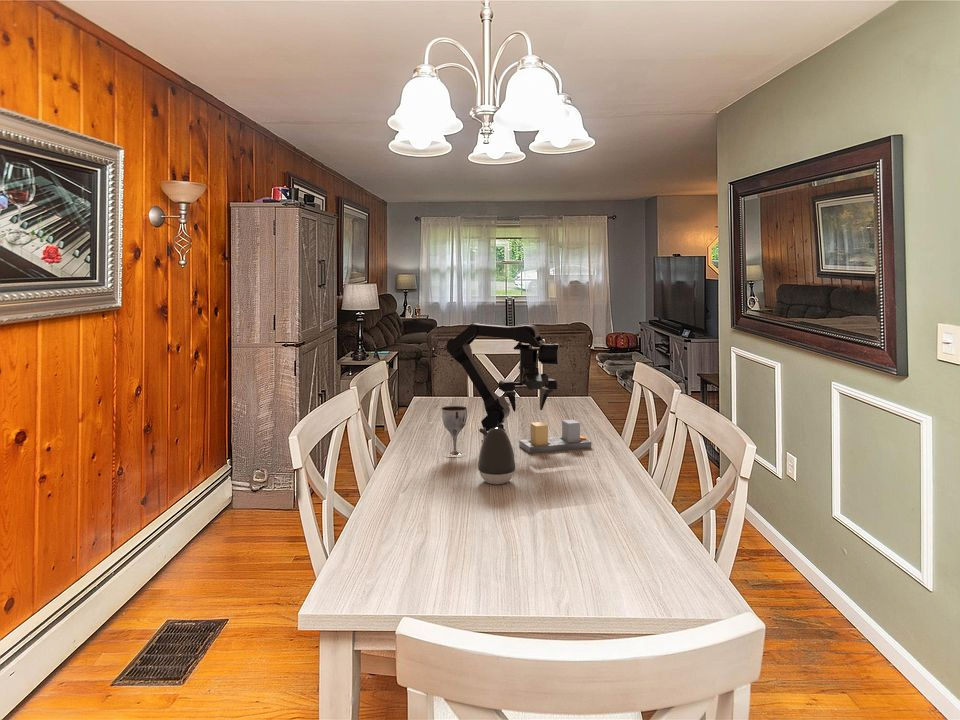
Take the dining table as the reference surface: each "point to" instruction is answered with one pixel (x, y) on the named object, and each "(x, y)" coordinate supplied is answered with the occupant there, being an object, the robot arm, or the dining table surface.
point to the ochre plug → (539, 433)
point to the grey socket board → (555, 445)
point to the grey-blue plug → (570, 431)
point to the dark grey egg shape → (496, 457)
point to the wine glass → (454, 422)
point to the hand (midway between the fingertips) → (527, 410)
